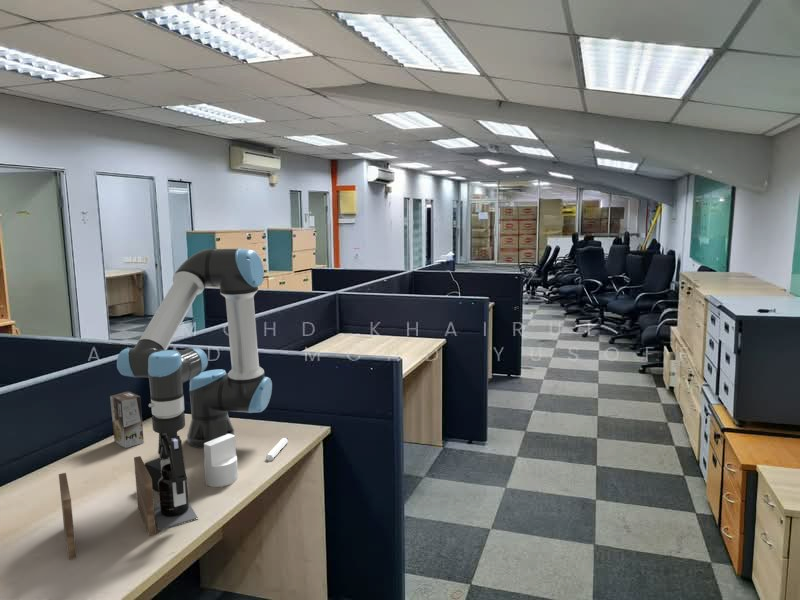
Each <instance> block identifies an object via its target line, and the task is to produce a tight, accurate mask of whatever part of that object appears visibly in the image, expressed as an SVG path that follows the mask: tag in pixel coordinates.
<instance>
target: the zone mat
mask: <svg viewBox="0 0 800 600" xmlns="http://www.w3.org/2000/svg"><path fill="white" fill-rule="evenodd" d="M154 515H155V525H156V526H157V528H158V530H159V531H163V530H166V529H169V528H172V527H176V526H179V524H180V525H182V523H183V524H185V523H184V522H186V523H189V522H188V521H190V522H192V521H191V520H193V521H195V520H194V519H196V518H198V519H199V517H198V515H197V514H196V512H195V511H194V509H193V507H192V505H191V504H190V503H189V508H188V510H187V511H186V512H185V513H183V514H181V515H178V516H174V517H167V516H164V515H162V514H161V510H160V502H158V503H155V504H154ZM196 520H197V519H196Z"/></svg>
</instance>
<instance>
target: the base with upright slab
mask: <svg viewBox="0 0 800 600" xmlns="http://www.w3.org/2000/svg"><path fill="white" fill-rule="evenodd" d="M236 445H237V444H236V435H235V434H234V435H233V434H226V435H224V436H221V437H219V438H216V439H214V440H211V441H208V442H206V443H204V448H203V453H204V465H203V466H204V477H205V478H204V480H205V484H206V485H208V487H209V486H211V487H217V488H219V487H225V486H226V487H227V486H228V485H232V484H233V483H236V482H237V481H238V479H239V470H238V469H239V467H238V466H239V465H238V456H237V447H236Z"/></svg>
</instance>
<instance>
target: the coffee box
mask: <svg viewBox="0 0 800 600" xmlns="http://www.w3.org/2000/svg"><path fill="white" fill-rule="evenodd" d="M141 398H142V397H141V396H140V395H138V394H137V393H133V392H131V391H129V390H128V391H124V392H121V393H117V394H114V395H110V396H109V399H110V410H111V417H112V429H113V440H114V442H115V443H116V444H117V445H120V446H121V447H123V448H124V449H127V448H131V447H135V446H137V445H141V444H143V443H144V442H145V441H144V427H143V416H142V415H143V412H142V402H141V400H142V399H141Z"/></svg>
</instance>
